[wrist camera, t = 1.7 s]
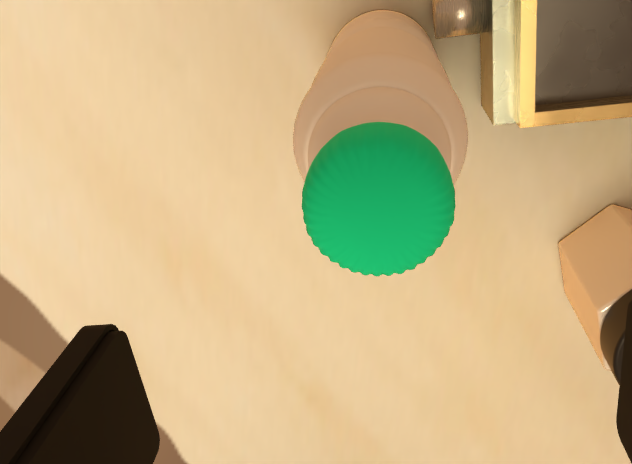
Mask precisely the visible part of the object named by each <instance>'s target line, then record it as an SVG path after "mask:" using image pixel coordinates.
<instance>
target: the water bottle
mask: <svg viewBox="0 0 632 464" xmlns="http://www.w3.org/2000/svg"><path fill="white" fill-rule="evenodd" d="M467 142H468V132H467V123H466V118H465V114H464V111H463V108H462V105H461V103H460V101H459V99H458V97H457V95H456V93H455V92H454V90H453V89H452V87H451V84H450V82H449V79H448V77H447V75H446V72H445V70H444V69H443V67H442V65H441V63H440V62H439V59H438V56H437V54H436V52H435V50H434V48H433V45H432V42H431V40H430V38H429V37H428V35H427V33H426V32H425V30H424V29H423V28H422V27H421V26H420V25H419V24H418V23H417V22H416V21H414V20H413V19H412V18H410V17H408V16H406V15H404V14H402V13H399V12H395V11H390V10H376V11H371V12H367V13H364V14H362V15H360V16H358V17H356V18H354V19H353V20H351V21H350V22H349V23H347V24H346V25H345V26H344V27H343V28H342V29H341V31H340V32H339V33H338V35H337V36H336V38H335V39H334V41H333V43H332V45H331V48H330V50H329V52H328V54H327V56H326V58H325V61H324V63H323V64H322V66H321V67H320V69H319V71H318V73H317V75H316V77H315V79H314V81H313V83H312V86H311V88H310V89H309V91H308V92H307V94H306V95H305V97H304V99H303V101H302V103H301V105H300V108H299V110H298V113H297V117H296V120H295V125H294V133H293V146H294V154H295V159H296V163H297V166H298V169H299V172H300V174H301V176H302V178H303V180H304V182H305V184H304V187H303V192H302V197H303V199H302V210H303V212H304V216H303V219H304V222H305V224H306V229H307V233H308V235H309V236H311V238H312V241H313V244H314V245H315V246H317V247H319V249H320V252H321V254H323V255H326V256H328V257H329V258H330V261H332V262H336V263H339V265H340V267H342V268H349V269H350V270H351V272H361V273H362V274H363V275H369V274H373V275H374V276H380V275H382V274H385V275H387V276H390V275H392V274H393V273H398V274H402V273H404V271H405V270H412V269H415V267H416V265H417V264H421V263H424V262H425V260H426V258H427V257H429V256H432V255H433V254H434V253H435V250H436V248H438V247H440V246H441V245H442V243H443V240H444V238H445V237H446V236H447V235H448V233H449V229H450V226H451V225H452V224H453V221H454V210H455V190H454V186H453V185H454V183H455V181H456V180H457V178H458V176H459V174H460V172H461V169H462V166H463V163H464V160H465V156H466V151H467Z"/></svg>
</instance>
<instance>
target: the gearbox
mask: <svg viewBox="0 0 632 464" xmlns="http://www.w3.org/2000/svg"><path fill="white" fill-rule="evenodd" d="M432 3H433V23H434V32H435V38H436V39H438V38H446V37H454V36H462V35H470V34H478V33H480V54H481V105H482V107H483V109H484V110H485V112H486V114H487V115H488V117H489V119H490V120H491V122H492V124H493V125H502V124H512V123H517V125H518V126H519V127H520V128H524V127H534V126H544V125H554V124H564V123H574V122H584V121H594V120H604V119H614V118H624V117H632V0H432Z"/></svg>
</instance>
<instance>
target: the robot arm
mask: <svg viewBox="0 0 632 464" xmlns="http://www.w3.org/2000/svg"><path fill="white" fill-rule="evenodd" d="M617 429H618V434H619V437H620V440H621V442H622V444H623V446H624V448H625V450H626V452H627V455H628V457H629V459H630V461H631V463H632V301H631V302H629V304H628V309H627V319H626V329H625V339H624V348H623V358H622V368H621V378H620V388H619V398H618V408H617ZM159 441H160V438H159V432H158V429H157V425H156V422H155V419H154V416H153V413H152V410H151V407H150V404H149V401H148V398H147V395H146V392H145V389H144V386H143V383H142V380H141V377H140V374H139V370H138V367H137V364H136V361H135V358H134V355H133V352H132V349H131V346H130V343H129V340H128V337H127V335H126V333H125V332H123V331H119V330H118V328H117V327H116V326H115V325H113V324H107V325H91V326H84V327H82V328H81V329H80V330H79V332H78V333H77V334H76V336H75V337H74V338H73V339H72V341H71V342H70V343H69V344H68V346H67V347H66V349H65V350H64V351H63V352H62V354H61V355H60V356H59V357H58V359H57V360H56V361H55V362H54V364H53V365H52V366H51V368H50V369H49V370H48V371H47V373H46V374H45V375H44V376H43V378H42V379H41V380H40V382H39V383H38V384H37V385H36V387H35V388H34V389H33V391H32V392H31V393H30V394H29V396H28V397H27V398H26V400H25V401H24V402H23V403H22V405H21V406H20V407H19V409H18V410H17V411H16V412H15V414H14V415H13V416H12V418H11V419H10V420H9V421H8V423H7V424H6V425H5V426H4V428H3V429H2V430H1V432H0V464H153V462H154V460H155V457H156V455H157V452H158V449H159Z"/></svg>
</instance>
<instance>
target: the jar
mask: <svg viewBox="0 0 632 464" xmlns="http://www.w3.org/2000/svg"><path fill="white" fill-rule="evenodd" d="M558 246H559V253H560V260H561V267H562V275H563V282H564V290H565V294H566V296H567V298H568V300H569V302H570V304H571V306H572V307H573V309H574V311H575V313H576V315H577V317H578V319H579V321H580V323H581V325H582V327H583V329H584V331H585V332H586V334H587V336H588V338H589V340H590V342H591V344H592V346H593V348H594V350H595V352H596V354H597V356H598V357H599V359H600V361H601V363H602V365H603V367H604V368H605V369H606V370H609V371H612V373H613V374H614V376H615V378H616V380H617V382H618V384H619V385H620V378H621V368H622V358H623V348H624V339H625V329H626V319H627V309H628V304H629V302H631V301H632V209H628V208H624V207H621V206H617V205H609V206H608V207H607V208H605V209H604V210H602V211H601V212H600V213H598V214H597V215H596V216H594V217H593V218H592V219H590V220H589V221H587V222H586V223H585V224H583V225H582V226H581V227H579V228H578V229H576V230H575V231H574V232H572V233H571V234H570V235H568V236H567V237H565V238H564V239H563V240H561V241H560V242H559V244H558Z"/></svg>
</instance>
